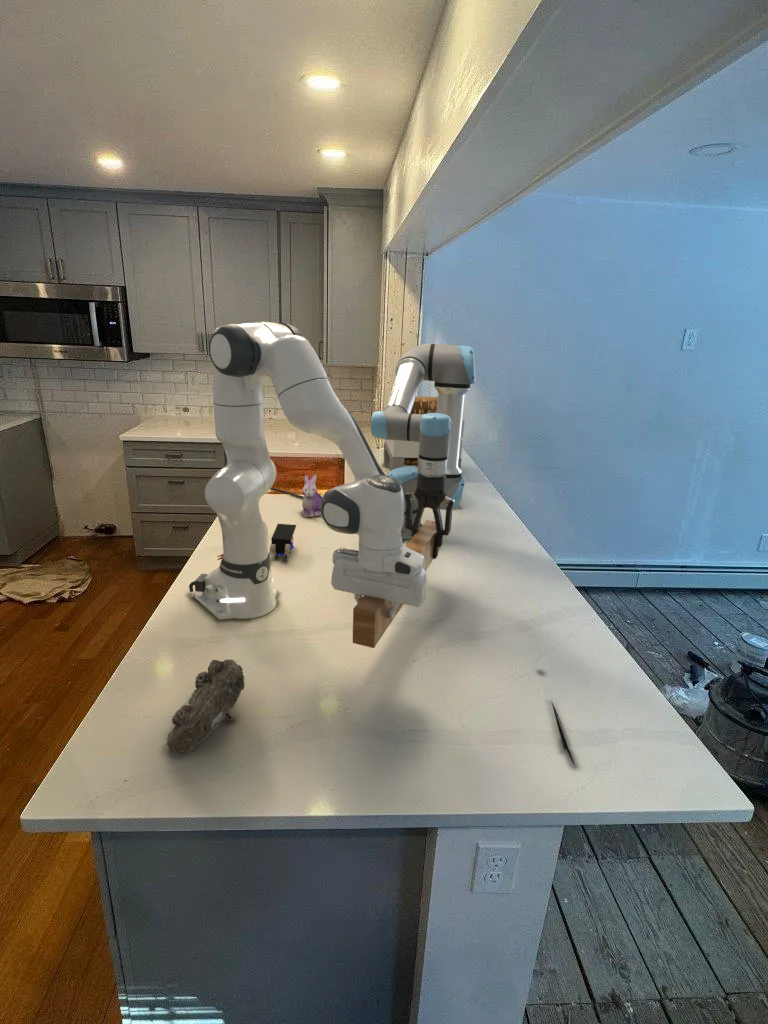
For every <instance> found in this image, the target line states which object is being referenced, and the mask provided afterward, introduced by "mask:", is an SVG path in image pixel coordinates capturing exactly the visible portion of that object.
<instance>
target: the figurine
mask: <svg viewBox="0 0 768 1024" xmlns="http://www.w3.org/2000/svg"><path fill="white" fill-rule="evenodd" d="M317 478H318V475H317V474H313V476H312V477H311V478H309V476H308V475H307V474H306V475H305V476H304V486H303V488H302V492H301V493H302V496H303V497H304V498H303V499H302V503H301V505H302V515H303V517H307V518H313V517H319V516H322V514H321V500H322V497H323V495H321V494H320V493H318V488H317V486H316V482H317Z"/></svg>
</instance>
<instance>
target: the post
mask: <svg viewBox="0 0 768 1024" xmlns="http://www.w3.org/2000/svg"><path fill="white" fill-rule="evenodd" d="M436 534H437V530H436V524H435V520H427V519H426V521H425V522H424V523H423V524H422V527H421V528H420V529H419V530H418V531H417V533H416V534H415V535H414V536H413V537H412V539H411V540H408V542H407V543H406V544H405V546H406V547H408V548H409V549H411V550H413V551H415V552H417V553H419V554H421V555H423V556H424V563H423V566H422V568H423V569H424V570H425V572H427V570H428V568H429V567H430V566H431V564H432V562H433V561H434V559H433V549H434V536H435V535H436ZM441 549H442V546H441V547H439V549H438V553H439V552H440V550H441ZM362 597H363V598H362V599H361V600H360V601H359V602H358V603H356V605H354V607H353V610H352V644H354V645H359V646H363V647H367V648H372V649H375V648H376V646H377V644H378V643H379V642H380V641H381V638H382V637H383V635H385V633H386V631H387V629H388V628H389V627H390V625H391V624H392V622H393V620H394V619H395V618H396V616H397V614H398V613H399V612H400V610H401V609H402V607H403V606H404V604H401V603H400V605H399V606H398V608H397V609H396V610H395V617H394V618H393V619H389V618H386V611H387V610H388V608H393V607H394V606H392V602H391V601H387V600H385V599H380V598H375V597H370V596H365V595H364V596H362Z"/></svg>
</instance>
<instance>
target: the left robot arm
mask: <svg viewBox="0 0 768 1024" xmlns="http://www.w3.org/2000/svg"><path fill="white" fill-rule="evenodd" d="M208 353H209V357H210V358H209V359H210V361H211V363H212V365H213V366H214V367H213V376H212V378H213V379H212V404H213V417H214V418H213V419H214V431H215V437H216V439H217V440H218V441H219V442H220V443H221V444H222V447H223V449H224V452H225V456H226V465H225V466H224V467H222V468H220V469H219V470H218V471H216V472H215V473H214V474H213V475H212V477H211V478H210V479H209V481H208V482H207V484H206V485H205V488H204V498H205V501H206V504H207V505H208V507H209V508H210V510H212V512H215V514H216V516H217V518H218V522H219V525H220V530H221V538H222V554H220V555H219V554H218V555H217V559H216V560H217V561H219V560H220V564H219V566H218V567H216V568H215V569H214V570H213V569H212V571H210V572H209V573H201V574H200V575H199V576H198V577H197V578H196V579H195V580H194V581H191V582H190V583H189V585H188V589H189V592H190V593H193V592H194V591H195V594H194V598H195V599H196V601H198V603H200V604H201V605H202V606H203V607H205V609H207V611H209V612H210V613H211V614H212V615H213V616H214V617H216V618H217V619H218V620H230V619H241V620H245V619H255V618H259V617H262V616H265V615H267V614H269V613H270V612H272V611H273V610H274V609H275V608H276V606H277V600H276V597H277V595H278V593H277V592H278V591H277V589H276V588H275V586H274V578H273V571H272V568H271V562H272V559H271V555H270V552H269V531H268V530H269V529H268V525H267V523H266V522H265V521H264V520H263V517H262V514H261V510H260V501H261V498H263V497H264V496H265V495H266V494H268V493H269V492H270V491H271V487H272V488H273V486H274V483H275V482H276V479H277V467H276V465H275V463H274V461H273V460H272V459H271V456H270V452H269V449H268V445H267V441H266V437H265V436H266V435H265V425H264V424H265V423H264V405H263V404H264V403H263V392H262V391H263V390H262V383H263V380H264V379H265V377H266V376H267V377H269V379H270V380H271V382H272V385H273V389H274V391H275V393H276V396H277V399H278V401H279V404H280V407H281V410H282V412H283V415H284V416H285V418H286V419H287V420H288V422H289V423H290V424H291V426H293V427H295V428H296V429H297V430H300V431H302V432H305V433H307V434H312V435H316V436H320V437H321V438H325V439H327V440H329V441H331V442H332V443H333V444H335V445H336V446H337V448H338V449H339V450H340V452H341V454H342V456H343V458H344V459H345V462H346V464H347V466H348V467H349V469H350V471H351V473H352V475H353V477H354V480H353V481H351V482H348V483H343V484H341V485H336V486H335V487H332V488H330V489H328V490H327V491H326V492H325V493H324V494H323V495H322V500H321V517H322V520H323V522H324V523H325V525H326V526H327V527H328V529H331V530H332V531H334V532H336V533H340V534H346V535H357V536H358V550H357V549H350V548H349V549H348V548H346V547H339V548H337V549H335V550H334V551H333V552H332V564H333V567H332V572H331V582H330V584H331V586H332V588H333V590H335V591H340V592H345V593H350V594H354V595H353V597H354V598H353V599H354V600H355V602H356V604H358V602H359V601H360V600H361V599H362V598H363V596H364V595H365V596H370V597H375V598H380V599H385V600H387V601H391V602H392V606H394V607H393V608H388V610H387V611H386V618H389V619H393V618H394V617H395V618H396V616H395V610H396V609H397V608H398V606H399V605H400V603H401V604H403V605H407V606H410V607H415V608H420V607H421V606H422V605H423V604H424V603H425V601H426V600H427V596H428V579H427V571H425V570H424V569H423V568H422V566H423V563H424V556H423V555H421V554H419V553H417V552H415V551H413V550H411V549H409V548H408V547H406V545H405V544H403V540H402V536H401V529H402V527H403V524H404V494H403V489H402V486H401V484H400V483H399V482H398V481H397V480H395V479H394V478H392V477H389V476H387V474H385V473H384V472H385V471H383V470H382V468H381V466H380V464H379V462H378V461H377V458H376V457H375V455H374V453H373V451H372V449H371V447H370V445H369V443H368V441H367V439H366V437H365V435H364V433H363V431H362V429H361V428H360V425H359V423H358V422H357V420H356V418H355V417H354V415H353V414H352V413H351V412H350V411H349V410H348V409H347V408H346V407H345V406H344V405H343V403H342V402H341V401H340V399H339V397H338V396H337V394H336V392H335V391H334V389H333V387H332V385H331V382H330V380H329V377H328V375H327V373H326V370H325V368H324V366H323V363H322V361H321V360H320V358H319V356H318V354H317V353H316V351H315V348H313V346H312V344H311V342H310V341H309V340H308V339H307V338H306V337H304V335H303V333H302V332H301V330H299V328H298V327H296V326H295V325H292V324H290V323H286V322H272V321H271V322H270V321H254V322H245V323H244V322H243V323H237V324H236V323H229V324H225V325H221V326H219V327H217V328H215V329H214V330H213V332H212V333H211V335H210V338H209V342H208ZM395 618H394V619H395ZM394 619H393V620H394Z"/></svg>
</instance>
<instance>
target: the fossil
mask: <svg viewBox="0 0 768 1024" xmlns="http://www.w3.org/2000/svg"><path fill="white" fill-rule="evenodd" d="M243 670H244V669H243V667H242V665H240V664H237V662H236V661H235V660H234V659H232V658H231V659H227V658H226V659H224V660H223V661H222V660H217V659H212V660H211V661H210V663H209V665H208V666H207V671H201V672H199V673H198V674H197V675H196V676H195V680H194V684H195V685H194V687H195V689H194V690H193V693H192V694H191V697H190V698H189V700H188V704H184V705H182V706H181V707H180V709H177V710H176V711H175V713H174V715H173V716H172V718H171V723H172V724H173V727H172V730H171V731H170V732H168V734H167V738H166V741H167V742H166V745H167V749H168V750H169V751H173V752H174V753H176V754H178V753H182V752H188V751H189V752H192V751H193V750H195V748H196V747H197V746H199V744H200V743H201V742H203V741H204V740H205V739H206V738H207V737H208V736H209V735H210V734H211V733H212V732H214V730H215V729H217V727H218V726H219V724H220V722H221V721H222V720H223V719H224V718H225V716H226V717H227V719H229V720H233V717H232V715H230V714H229V710H230V709H231V708H234V706H235V704H236V703H237V702H238V699H239V697H240V695H241V693H242V691H243V690H245V689H244V688H245V675H244V671H243Z"/></svg>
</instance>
